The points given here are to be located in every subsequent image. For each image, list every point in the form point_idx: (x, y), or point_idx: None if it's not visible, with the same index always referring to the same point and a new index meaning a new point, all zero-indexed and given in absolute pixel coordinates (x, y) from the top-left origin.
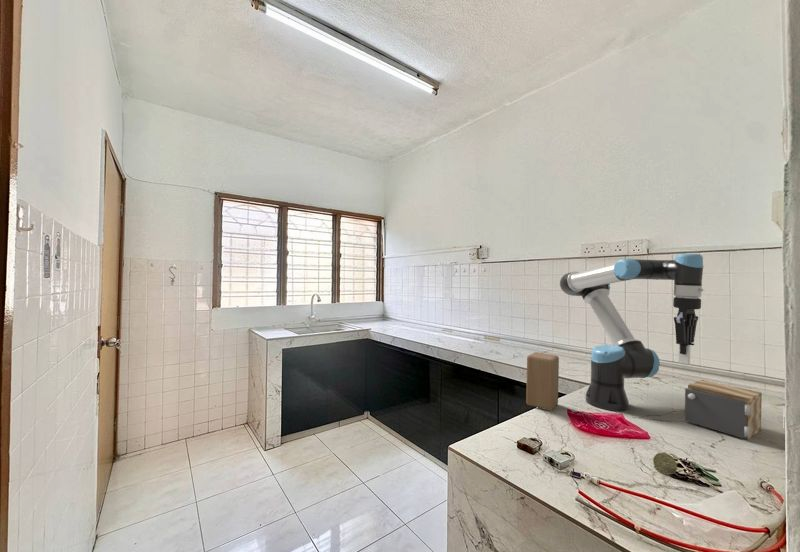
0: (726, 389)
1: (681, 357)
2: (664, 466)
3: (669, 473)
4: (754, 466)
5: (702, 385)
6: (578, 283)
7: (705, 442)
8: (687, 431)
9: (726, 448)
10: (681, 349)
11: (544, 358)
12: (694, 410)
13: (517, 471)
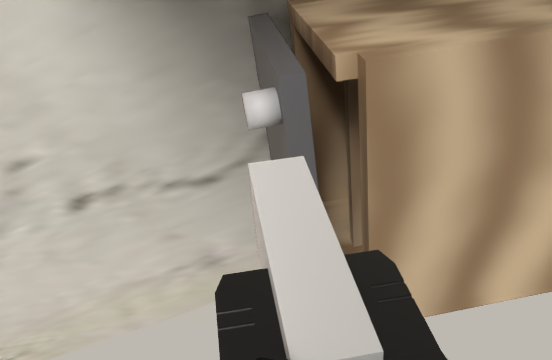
0: (479, 208)
1: (259, 230)
2: None
3: None
4: (65, 314)
5: (447, 110)
6: None
7: (91, 175)
8: (134, 85)
9: (121, 226)
10: (222, 348)
11: None
12: (265, 81)
13: None
